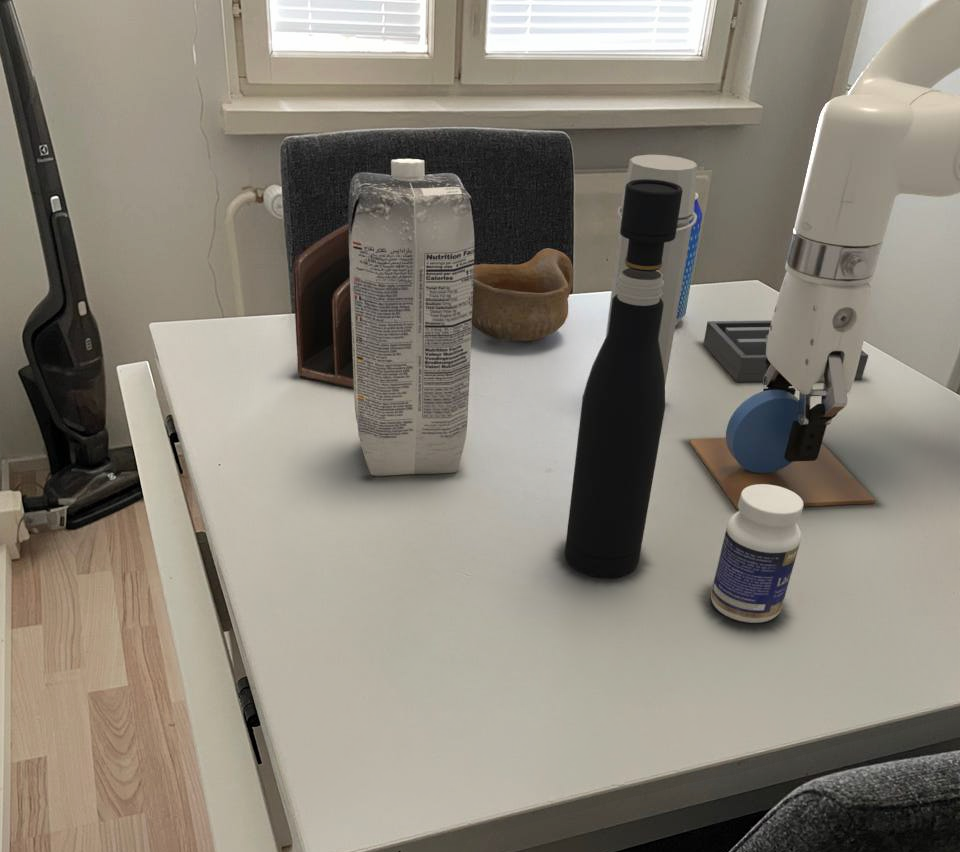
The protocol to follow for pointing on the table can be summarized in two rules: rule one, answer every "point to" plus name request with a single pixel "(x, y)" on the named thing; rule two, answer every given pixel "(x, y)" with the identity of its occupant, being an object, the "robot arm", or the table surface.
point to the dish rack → (746, 348)
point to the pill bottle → (758, 554)
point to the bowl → (522, 297)
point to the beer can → (689, 262)
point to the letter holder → (324, 310)
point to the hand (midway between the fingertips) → (785, 441)
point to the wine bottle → (624, 397)
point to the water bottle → (673, 251)
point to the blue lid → (762, 430)
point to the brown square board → (784, 476)
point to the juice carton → (411, 317)
